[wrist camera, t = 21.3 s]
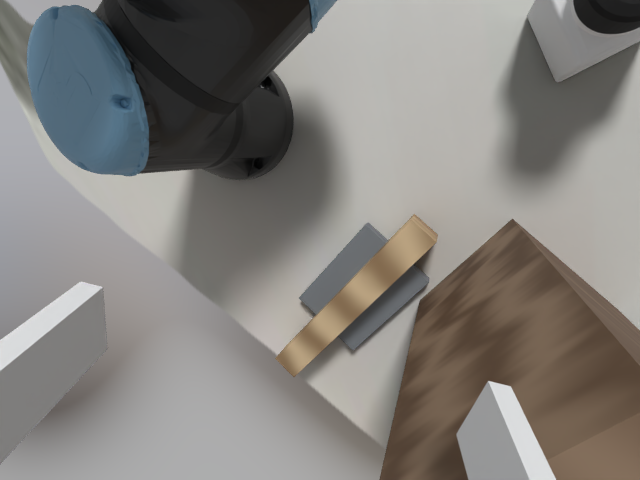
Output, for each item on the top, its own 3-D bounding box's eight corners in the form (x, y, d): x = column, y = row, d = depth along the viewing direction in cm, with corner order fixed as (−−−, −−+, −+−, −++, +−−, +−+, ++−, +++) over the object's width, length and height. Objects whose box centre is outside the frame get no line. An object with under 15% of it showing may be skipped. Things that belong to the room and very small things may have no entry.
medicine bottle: (645, 38, 31) (750, -24, 20) (555, 84, 34) (604, 52, 23) (613, -38, 30) (702, -145, 19) (525, 15, 33) (560, -51, 22)
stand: (508, 382, 42) (611, 816, 15) (420, 300, 43) (362, 554, 16) (618, 310, 36) (1126, 800, 9) (512, 218, 38) (667, 397, 10)
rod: (304, 362, 50) (293, 377, 47) (286, 345, 50) (275, 358, 47) (437, 234, 39) (436, 242, 36) (414, 213, 40) (411, 219, 36)
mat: (355, 344, 48) (352, 350, 46) (303, 294, 49) (298, 298, 48) (429, 278, 42) (428, 282, 41) (368, 222, 43) (365, 224, 42)
